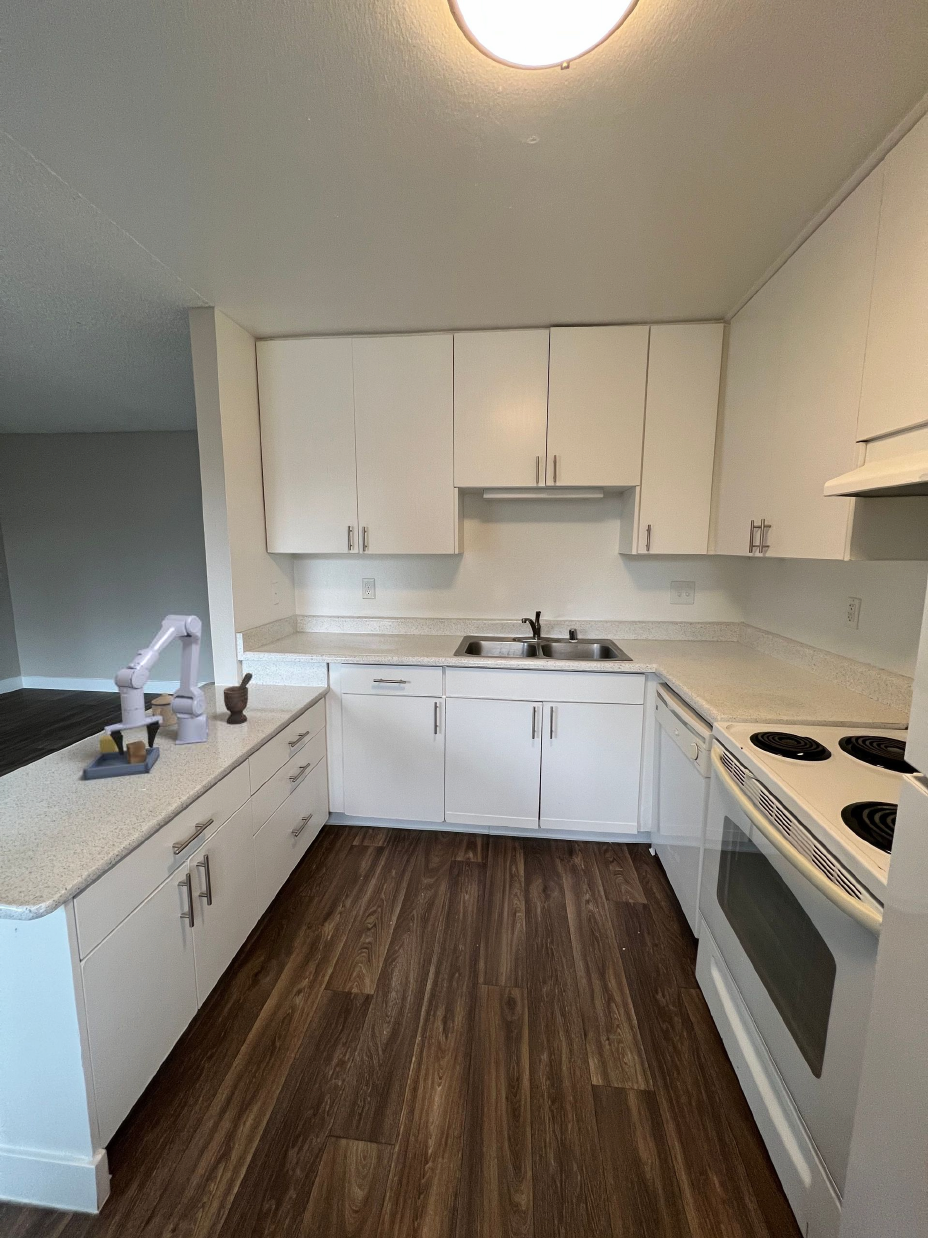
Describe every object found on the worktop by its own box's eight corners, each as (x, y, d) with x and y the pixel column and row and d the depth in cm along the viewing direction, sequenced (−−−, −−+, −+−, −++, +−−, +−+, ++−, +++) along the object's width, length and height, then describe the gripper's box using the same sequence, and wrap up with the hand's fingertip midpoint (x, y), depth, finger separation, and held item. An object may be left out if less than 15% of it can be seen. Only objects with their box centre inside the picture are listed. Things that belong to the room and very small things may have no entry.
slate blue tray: (159, 755, 155) (159, 747, 155) (148, 773, 143) (148, 763, 143) (100, 762, 150) (99, 753, 150) (83, 780, 138) (82, 770, 138)
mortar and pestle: (260, 717, 193) (258, 669, 190) (252, 725, 184) (250, 674, 182) (230, 717, 192) (228, 668, 190) (221, 725, 184) (218, 674, 181)
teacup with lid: (158, 719, 189) (156, 690, 187) (183, 718, 191) (182, 689, 189) (144, 730, 177) (142, 699, 176) (171, 729, 179) (169, 698, 177)
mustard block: (120, 751, 158) (118, 734, 157) (115, 756, 154) (114, 738, 154) (105, 753, 157) (104, 735, 156) (101, 758, 153) (99, 740, 152)
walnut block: (142, 758, 151) (141, 740, 150) (146, 762, 148) (145, 743, 147) (127, 762, 148) (126, 744, 147) (131, 766, 145) (129, 747, 144)
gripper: (155, 699, 153) (158, 740, 155) (100, 710, 142) (103, 754, 144) (163, 704, 149) (166, 746, 151) (107, 715, 138) (110, 761, 140)
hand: (136, 750), depth 147 cm, fingers open, 7 cm apart
